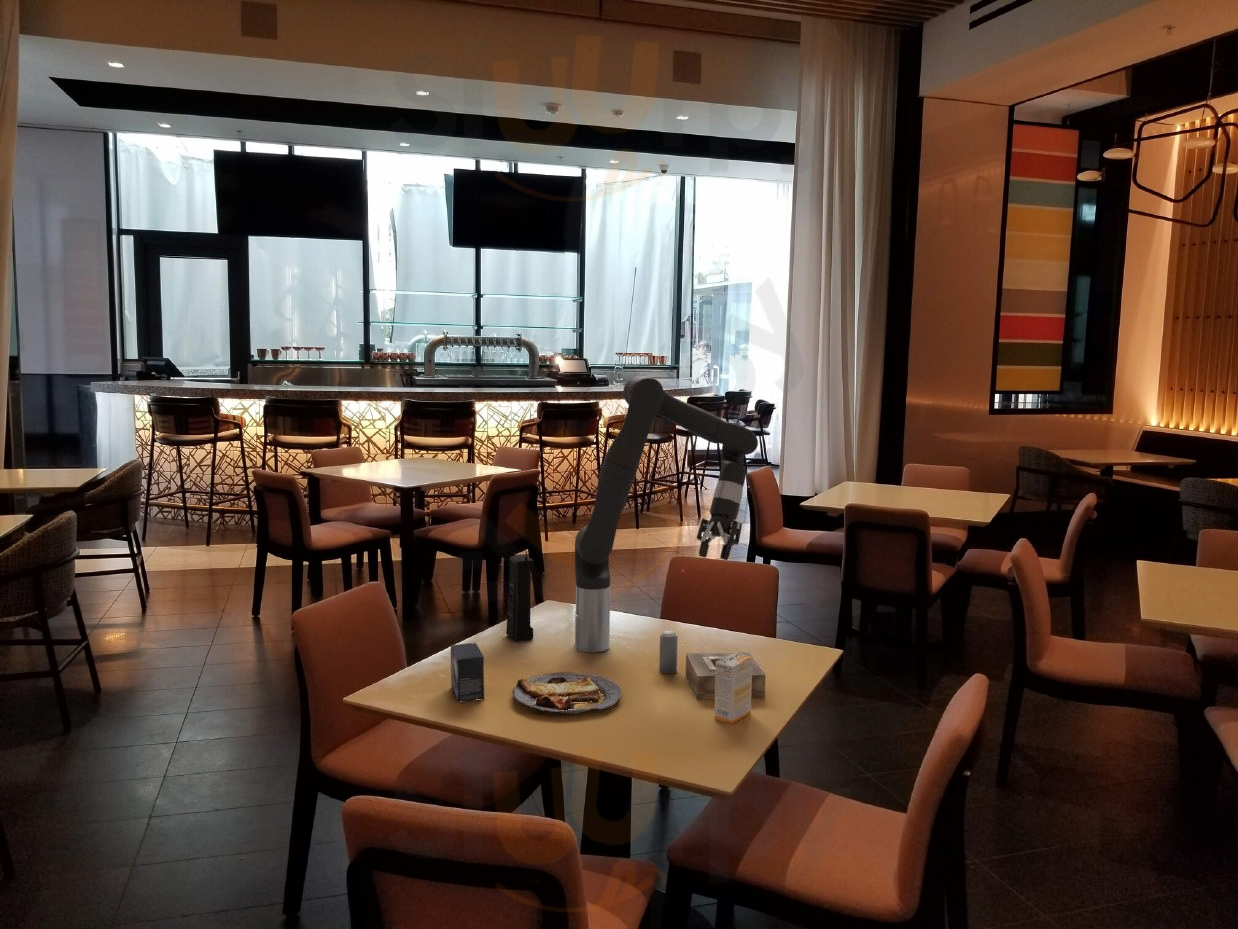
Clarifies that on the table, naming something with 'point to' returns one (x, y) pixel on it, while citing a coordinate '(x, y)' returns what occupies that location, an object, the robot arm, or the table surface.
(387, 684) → the table surface
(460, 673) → the small box
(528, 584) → the portable radio
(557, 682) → the food plate
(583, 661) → the table surface
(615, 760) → the table surface
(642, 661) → the table surface
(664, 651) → the grey bottle
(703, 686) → the socket block
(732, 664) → the supplement box
